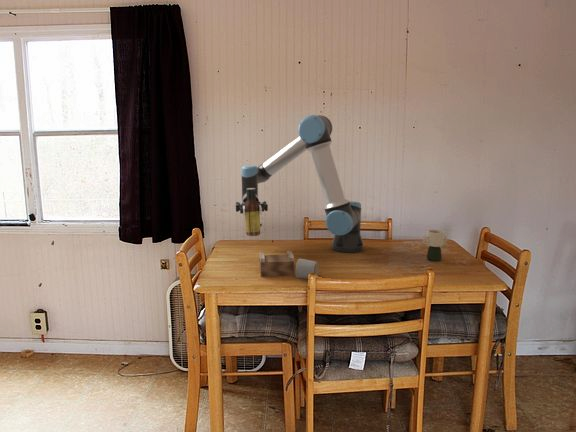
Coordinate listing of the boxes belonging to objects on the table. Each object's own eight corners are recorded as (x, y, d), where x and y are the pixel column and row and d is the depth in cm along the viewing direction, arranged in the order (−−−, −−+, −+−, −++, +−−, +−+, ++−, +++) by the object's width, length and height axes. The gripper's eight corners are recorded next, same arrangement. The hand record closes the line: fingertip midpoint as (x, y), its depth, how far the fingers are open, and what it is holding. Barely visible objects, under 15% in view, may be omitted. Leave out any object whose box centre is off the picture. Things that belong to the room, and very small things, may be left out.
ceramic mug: (315, 282, 185) (316, 263, 184) (295, 280, 188) (295, 261, 186) (321, 274, 195) (322, 256, 194) (301, 272, 198) (302, 254, 196)
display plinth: (290, 268, 203) (291, 250, 201) (293, 275, 193) (293, 257, 192) (259, 269, 201) (259, 251, 200) (261, 276, 192) (260, 258, 190)
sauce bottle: (262, 233, 208) (262, 187, 204) (256, 237, 202) (256, 189, 199) (248, 232, 210) (247, 187, 206) (242, 235, 205) (241, 189, 201)
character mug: (441, 257, 220) (443, 229, 217) (449, 261, 213) (451, 232, 210) (418, 258, 218) (420, 229, 215) (425, 262, 211) (427, 233, 209)
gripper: (271, 209, 223) (275, 219, 201) (229, 210, 221) (229, 221, 199) (271, 193, 222) (275, 202, 199) (229, 194, 220) (228, 203, 197)
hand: (252, 211), depth 199 cm, fingers closed on sauce bottle, 6 cm apart
